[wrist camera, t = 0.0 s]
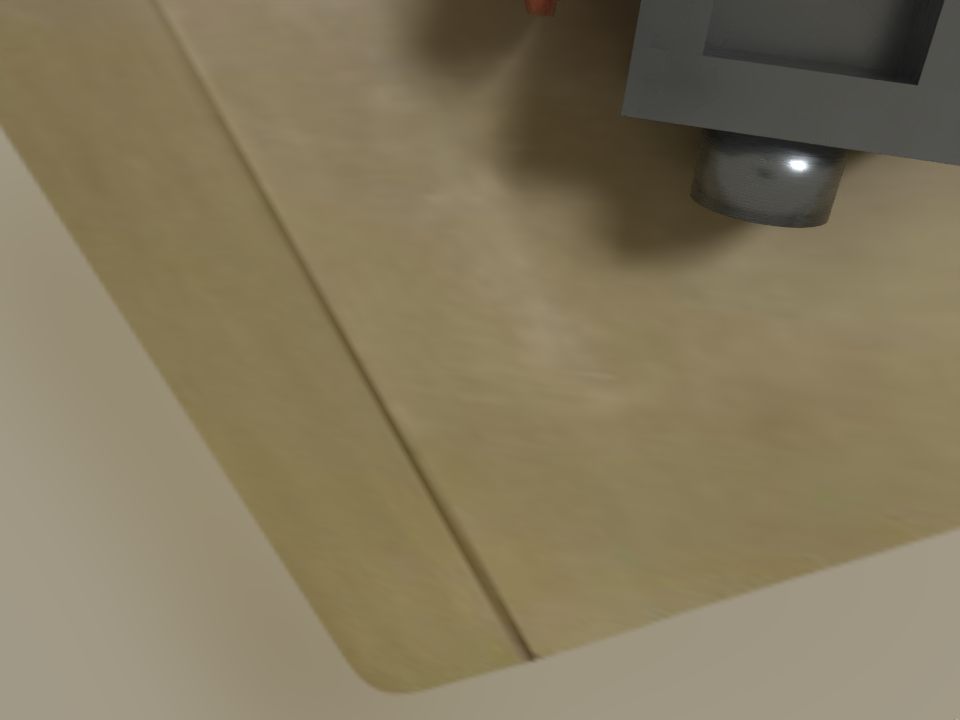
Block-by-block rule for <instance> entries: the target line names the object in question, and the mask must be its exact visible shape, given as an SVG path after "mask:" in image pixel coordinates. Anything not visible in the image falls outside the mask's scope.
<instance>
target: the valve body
mask: <svg viewBox="0 0 960 720" xmlns="http://www.w3.org/2000/svg"><path fill="white" fill-rule="evenodd" d="M525 1H526V10H527V12H528V14H535V15H542V16H549V17H553V15H554V13H555V11H556V8H557V5H558V1H559V0H525ZM621 116H627V117H634V118H641V119H647V120H654V121H661V122H668V123H675V124H681V125H688V126H695V127H702V128H704V131H703V136H702V140H701V145H700V150H699V154H698V159H697V163H696V168H695V172H694V177H693V181H692V186H691V191H690V196H691V197H692V199H693V200H694V201H696V202H697V203H698V204H700V205H702V206H704V207H706V208H708V209H710V210H712V211H715V212H717V213H720V214H723V215H726V216H729V217H733V218H736V219H740V220H744V221H749V222H753V223H759V224H764V225H771V226H780V227H793V228H805V227H815V226H820V225H823V224H825V223H827V221H828V220H829V216H830V213H831V210H832V206H833V203H834V199H835V196H836V193H837V189H838V186H839V182H840V179H841V176H842V172H843V169H844V165H845V162H846V159H847V155H848V152H849V149H851V150H858V151H864V152H871V153H878V154H885V155H892V156H898V157H905V158H912V159H919V160H925V161H932V162H939V163H946V164H953V165H959V166H960V0H641V4H640V10H639V15H638V21H637V26H636V32H635V38H634V43H633V49H632V55H631V60H630V66H629V71H628V77H627V83H626V88H625V94H624V100H623V105H622V111H621Z"/></svg>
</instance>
